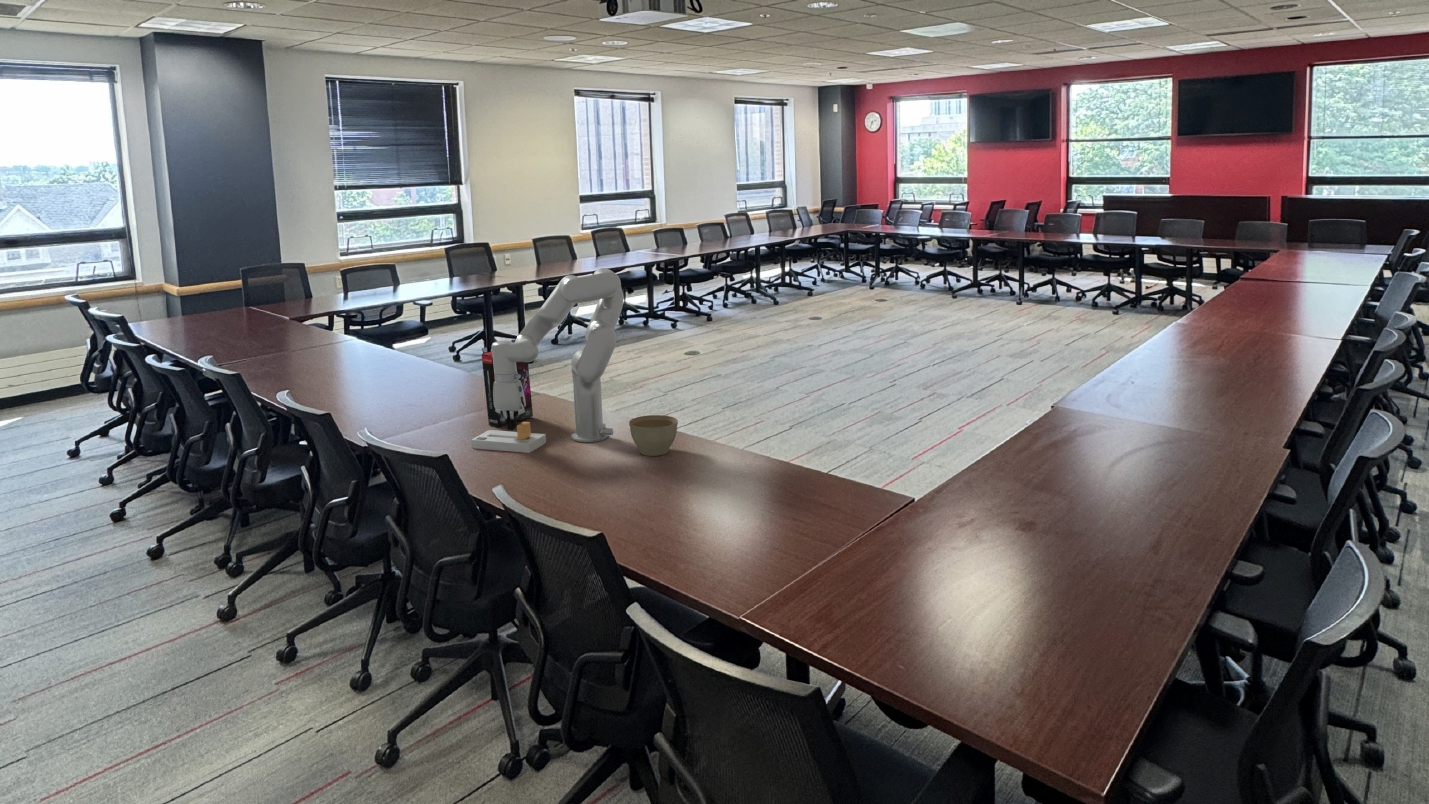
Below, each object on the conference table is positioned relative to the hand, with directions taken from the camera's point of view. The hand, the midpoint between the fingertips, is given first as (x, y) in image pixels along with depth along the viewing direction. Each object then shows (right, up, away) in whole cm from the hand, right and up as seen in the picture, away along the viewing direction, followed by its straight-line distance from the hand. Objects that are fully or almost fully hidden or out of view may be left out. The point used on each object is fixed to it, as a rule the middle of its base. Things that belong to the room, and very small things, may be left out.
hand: (512, 429), depth 315 cm
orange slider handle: (+5, -5, -1) cm, 7 cm away
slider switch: (-1, -6, +1) cm, 6 cm away
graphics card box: (-7, +2, +31) cm, 31 cm away
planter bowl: (+50, -8, -8) cm, 51 cm away
